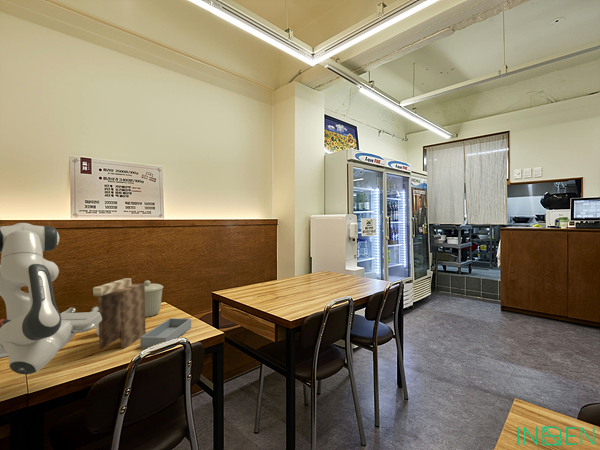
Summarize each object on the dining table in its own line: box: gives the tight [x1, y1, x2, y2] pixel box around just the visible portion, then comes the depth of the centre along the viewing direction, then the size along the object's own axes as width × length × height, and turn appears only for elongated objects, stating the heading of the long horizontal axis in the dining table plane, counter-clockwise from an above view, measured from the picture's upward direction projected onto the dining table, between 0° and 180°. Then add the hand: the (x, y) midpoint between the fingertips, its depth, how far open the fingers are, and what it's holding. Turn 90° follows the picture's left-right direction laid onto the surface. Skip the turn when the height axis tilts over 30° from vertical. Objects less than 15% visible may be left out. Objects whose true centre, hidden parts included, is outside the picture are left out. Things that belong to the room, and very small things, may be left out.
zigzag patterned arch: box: [97, 283, 147, 350], centre depth 143 cm, size 16×12×26 cm
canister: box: [143, 280, 164, 318], centre depth 182 cm, size 18×18×21 cm
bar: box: [92, 277, 133, 297], centre depth 136 cm, size 20×4×4 cm, turn 175°
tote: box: [139, 317, 192, 349], centre depth 147 cm, size 26×12×5 cm, turn 175°
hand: (85, 308), depth 120 cm, fingers open, 8 cm apart
